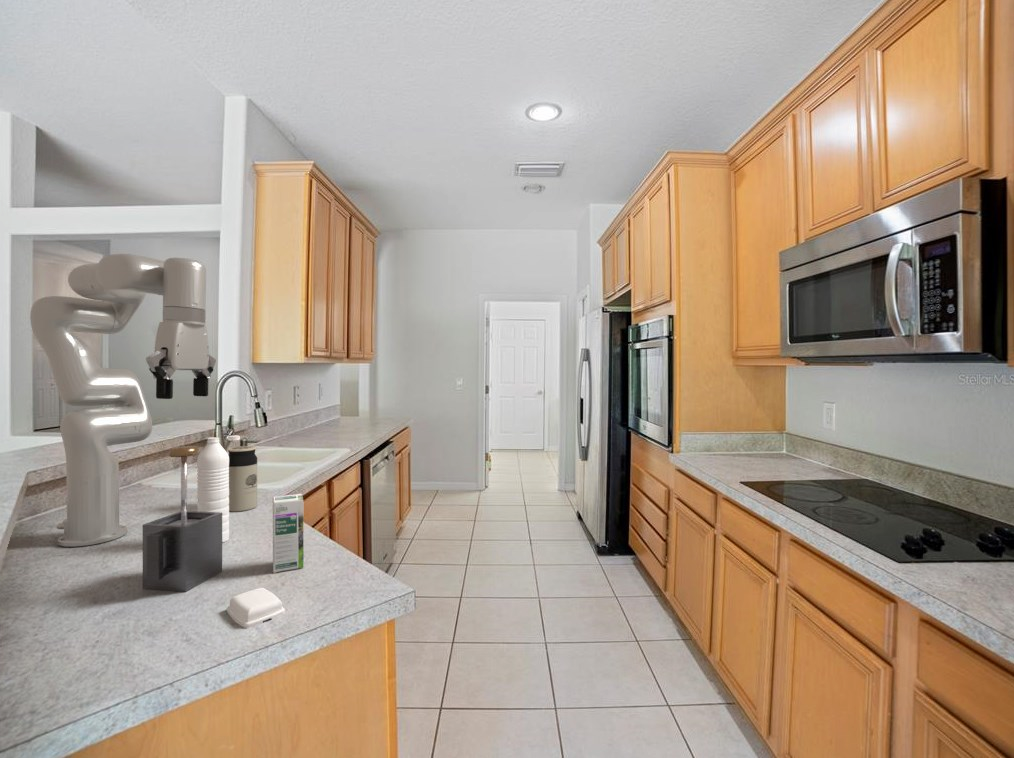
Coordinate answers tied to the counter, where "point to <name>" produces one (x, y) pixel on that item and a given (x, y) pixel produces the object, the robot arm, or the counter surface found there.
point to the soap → (254, 607)
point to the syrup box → (288, 533)
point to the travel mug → (242, 478)
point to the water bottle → (214, 481)
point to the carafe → (182, 551)
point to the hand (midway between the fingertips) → (183, 397)
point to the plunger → (183, 479)
